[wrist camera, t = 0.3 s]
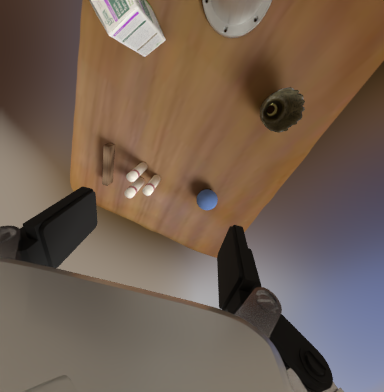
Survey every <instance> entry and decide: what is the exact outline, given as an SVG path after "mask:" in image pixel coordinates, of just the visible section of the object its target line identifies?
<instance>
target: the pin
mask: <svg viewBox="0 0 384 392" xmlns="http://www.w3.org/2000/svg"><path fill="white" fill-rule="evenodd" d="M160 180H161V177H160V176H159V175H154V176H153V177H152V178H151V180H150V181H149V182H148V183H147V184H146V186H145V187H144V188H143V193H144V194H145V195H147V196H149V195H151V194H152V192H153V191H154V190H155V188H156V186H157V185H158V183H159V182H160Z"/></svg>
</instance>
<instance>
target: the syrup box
mask: <svg viewBox="0 0 384 392" xmlns="http://www.w3.org/2000/svg"><path fill="white" fill-rule="evenodd" d="M90 2H91V4H92V6H93V8H94V10H95V12H96V14H97V16H98V18H99V19H100V21H101V23H102V24H103V26H104V28H105V30H106V31H107V33H108V35H109V36H110V37H112V38H114V39H115V40H117V41H119V42H120V43H122V44H124V45H125V46H127V47H129V48H130V49H132V50H134V51H135V52H137V53H139V54H140V55H142V56H144V57H146V56H147V55H148V54H149V53H151V52H152V51H153V50H154V49H156V48H157V47H158V46H159V45H160V44H162V43H163V42H164V41H165V37H164V34H163V32H162V30H161V27H160V25H159V23H158V21H157V18H156V16H155V14H154V12H153V10H152V8H151V6H150V4H149V3H148V2H147V0H90Z"/></svg>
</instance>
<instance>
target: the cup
mask: <svg viewBox="0 0 384 392" xmlns="http://www.w3.org/2000/svg"><path fill="white" fill-rule="evenodd" d="M298 92H299V91H298V90H294V89H293V88H291V87H290V88H284V89H280V90H278V91H276V92H275V93H273V94H271V95H270V96H268V97H267V98H266V99H265V101H264V102H263V103H262V105H261V108H260V118H261V121H262V122H263V124H264V125H265V126H266V127H267V128H268V129H269V130H271V131H275V132H282V131H287V130H288V128H289V127H291V126H292V125H295V124H297V121H299V120H300V119H301V118H302V111H304V110H305V109H304V107H303V106H302V105H304V102H305V101H304V100H303V95H301V94H298ZM269 106H274V112H273V113H271V114H269V113H268V112H267V108H268V107H269Z"/></svg>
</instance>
